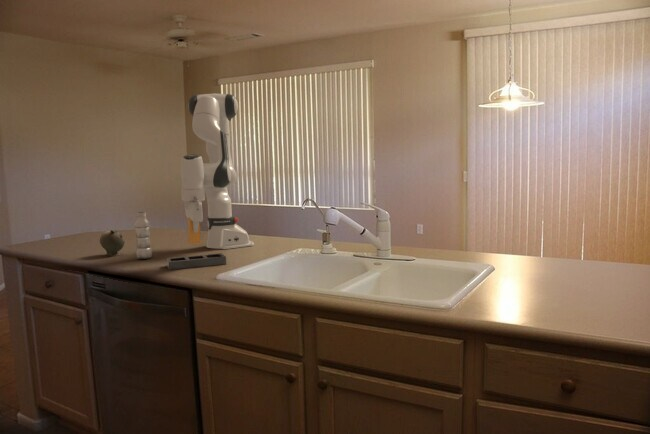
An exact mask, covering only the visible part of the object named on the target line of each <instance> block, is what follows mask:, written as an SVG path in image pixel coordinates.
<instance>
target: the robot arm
mask: <svg viewBox="0 0 650 434" xmlns="http://www.w3.org/2000/svg"><path fill="white" fill-rule="evenodd" d="M187 107H188V108H187V109H188V111H189V114H190V116H192V123H191V124H192V125H191V126H192V128H191V129H192V132H193V133H194V134H195V135H196V137H198V138H199V139H201V140H202V141H204V142H205V151H206V155H207V157H208V160H209V161H208V162H209V163H208V162H205V163H204V161H203V157H202V156H201V154H186V155H184V156H182V158H181V164H180V179H181V183H182V185H181V188H180V189H181V201H182V202H183V206H184V213H185V217H186V218H187V219H188V217H189V218H190V220H191V221H193V232H198V226H199V222H200V223H202V222H203V221H204V215H203V214H204V213H203V212H204V211H203V203H202V202H204V201H205V200H206V201H207V216H208V217H207V222H206V223H207V229H208V232H207V242H206V246H205V247H206V248H208V249H219V250H230V249H237V248H244V247H252V246H254V245H255V243H254V241H252V240H250V237H249V234H248V232H247V230H245V229H244V228H243V227H241V226H240V225H238V222H240V221H239V218H238V217H234V216H233V214H232V213H233V211H232V207H233V206H232V199H231V197H230V195H229V191H228V188H230V187H232V186H234V185H235V184H236V182H237V179H238V175H237V170H235V168H234V163H233V159H232V154H231V135H230V134H231V129H230V121H232V119H234V118H235V117H236V116H237V113H238V110H239V103H238V100H237V97H236V96H235V95H233V94H229V93H226V94H225V93H217V92H216V93H204V94H200V93H198V94H197V93H196V94H194V95H191V96H190V97H189V100H188V106H187Z"/></svg>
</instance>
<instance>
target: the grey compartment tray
mask: <svg viewBox="0 0 650 434" xmlns="http://www.w3.org/2000/svg"><path fill="white" fill-rule="evenodd" d="M165 259H166V260H165V262H166V268H167V269H168V270H169V271H171V270H172V271H173V270H181V269H192V268H193V269H194V268H202V267H213V266H223V264H224V265H227V256H225V254H223V253H211V254H199V255H198V254H197V255H190V256H189V255H186V256H179V257H178V256H177V257H166V258H165Z"/></svg>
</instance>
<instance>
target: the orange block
mask: <svg viewBox="0 0 650 434" xmlns="http://www.w3.org/2000/svg"><path fill="white" fill-rule="evenodd" d="M187 226H188V227H187V229H188V231H187V233H188V234H187V235H188V243H189V244H190V245H193V244H201V243H202V241H201V222H199V226H198V232H193V221H191V220H190V218H189V217H188V218H187Z"/></svg>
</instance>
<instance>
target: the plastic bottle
mask: <svg viewBox="0 0 650 434" xmlns="http://www.w3.org/2000/svg"><path fill="white" fill-rule="evenodd" d="M136 217H137V219H136V220H135V222H134V225H133V226H134V230H135V236H136V250H135V254H136V257H137V259H140V260H146V259H149V258H150V259H151V257H152V256H153V251H152V247H151V240H150V235H151V234H150V231H151V223H150V221H149V220H148V218H147V212H146V211H137V212H136Z"/></svg>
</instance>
